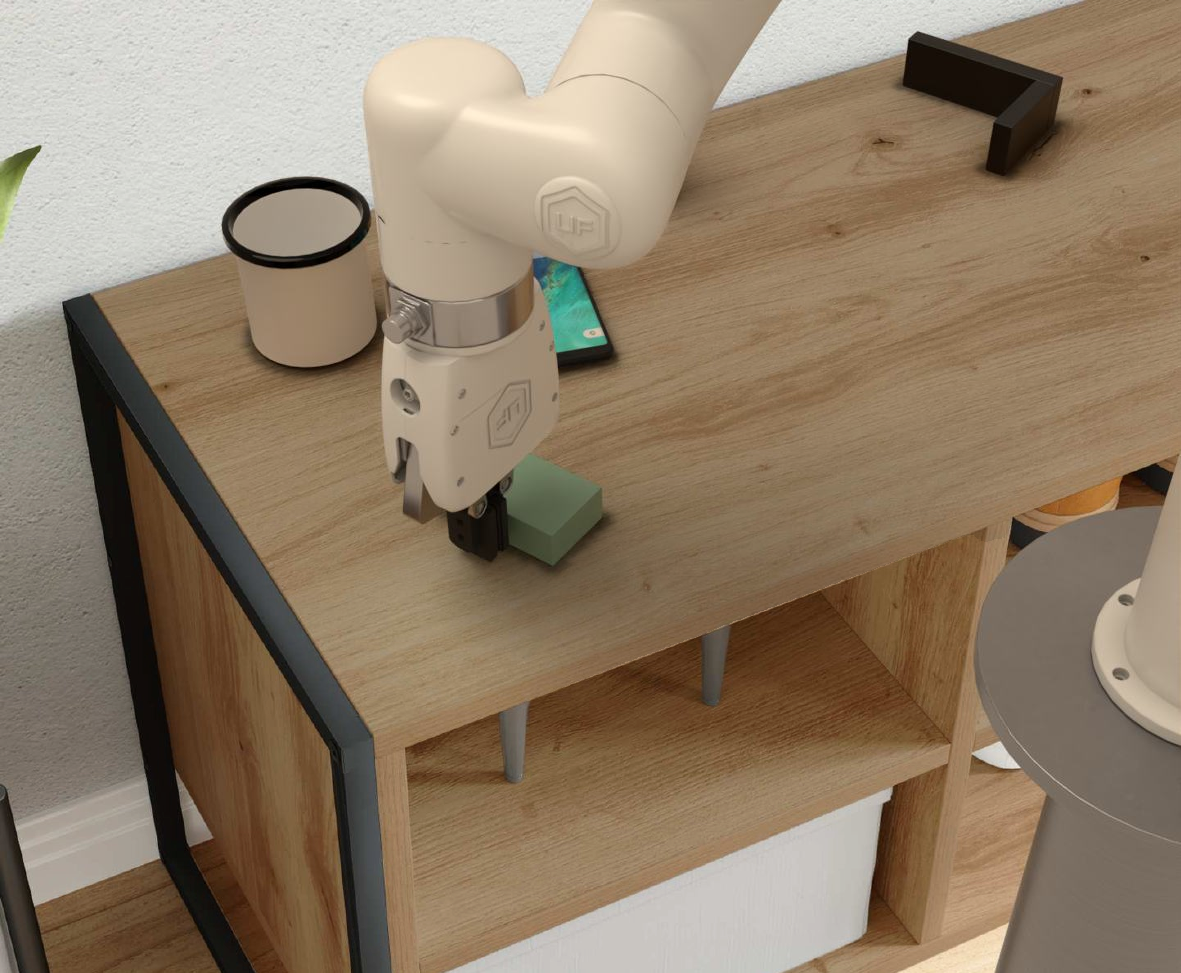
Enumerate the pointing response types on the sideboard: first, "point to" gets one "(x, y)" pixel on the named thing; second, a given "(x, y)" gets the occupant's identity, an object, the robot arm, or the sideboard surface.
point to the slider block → (550, 508)
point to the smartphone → (572, 313)
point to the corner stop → (987, 92)
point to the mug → (304, 268)
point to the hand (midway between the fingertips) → (479, 544)
